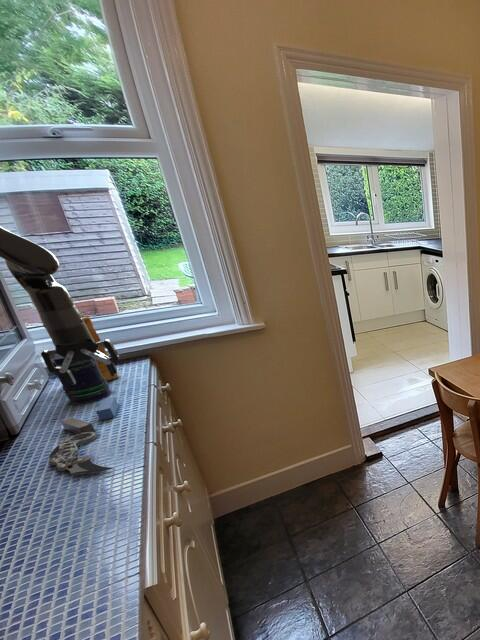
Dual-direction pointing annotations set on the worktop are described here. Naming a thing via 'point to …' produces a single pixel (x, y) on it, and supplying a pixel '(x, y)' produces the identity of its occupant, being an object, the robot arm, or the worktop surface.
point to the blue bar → (107, 408)
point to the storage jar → (83, 381)
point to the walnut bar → (77, 426)
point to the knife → (68, 461)
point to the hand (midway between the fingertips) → (94, 379)
